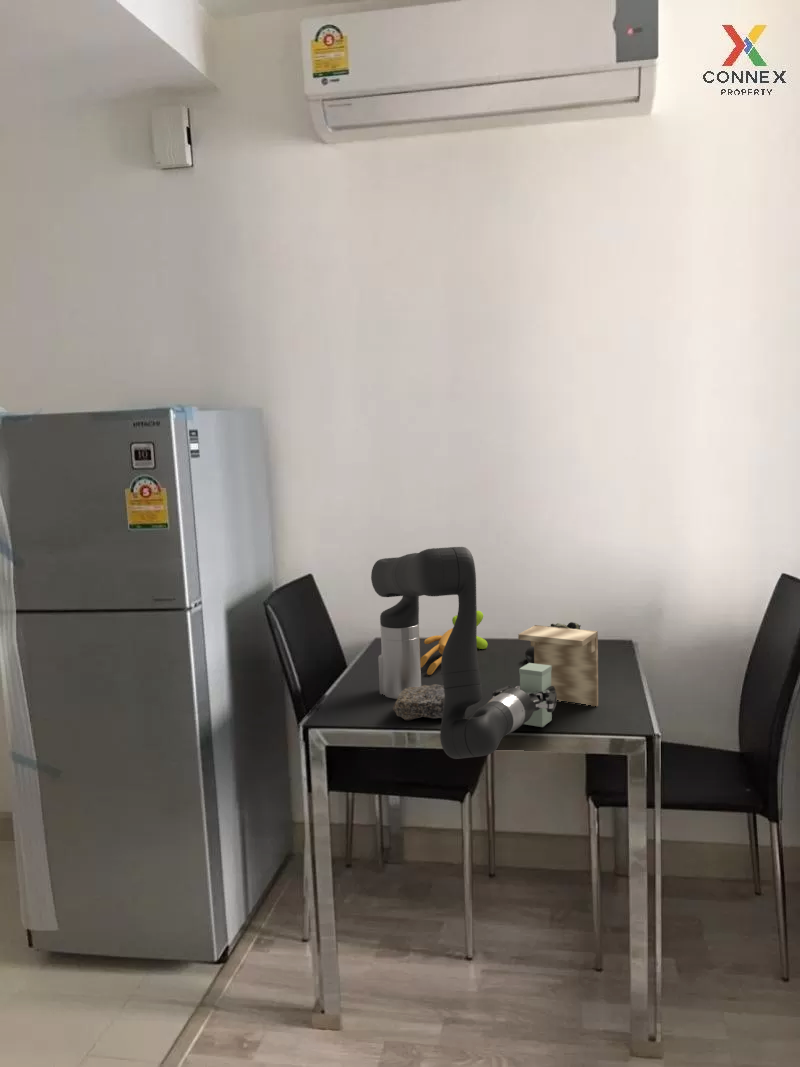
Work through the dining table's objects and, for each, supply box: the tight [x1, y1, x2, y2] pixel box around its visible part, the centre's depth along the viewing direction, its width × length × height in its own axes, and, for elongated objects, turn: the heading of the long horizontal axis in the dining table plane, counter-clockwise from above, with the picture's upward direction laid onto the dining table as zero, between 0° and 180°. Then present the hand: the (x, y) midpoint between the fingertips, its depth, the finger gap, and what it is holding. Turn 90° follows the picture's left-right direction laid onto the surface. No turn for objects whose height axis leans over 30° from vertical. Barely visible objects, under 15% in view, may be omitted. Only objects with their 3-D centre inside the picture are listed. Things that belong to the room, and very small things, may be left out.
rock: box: [392, 683, 445, 721], centre depth 203 cm, size 13×6×15 cm
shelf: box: [517, 624, 599, 708], centre depth 204 cm, size 15×10×17 cm, turn 58°
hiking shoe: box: [524, 621, 582, 663], centre depth 246 cm, size 8×21×9 cm, turn 131°
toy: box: [420, 610, 489, 676], centre depth 246 cm, size 13×14×30 cm
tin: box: [518, 662, 553, 728], centre depth 193 cm, size 5×5×12 cm
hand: (540, 688), depth 195 cm, fingers closed on tin, 5 cm apart
